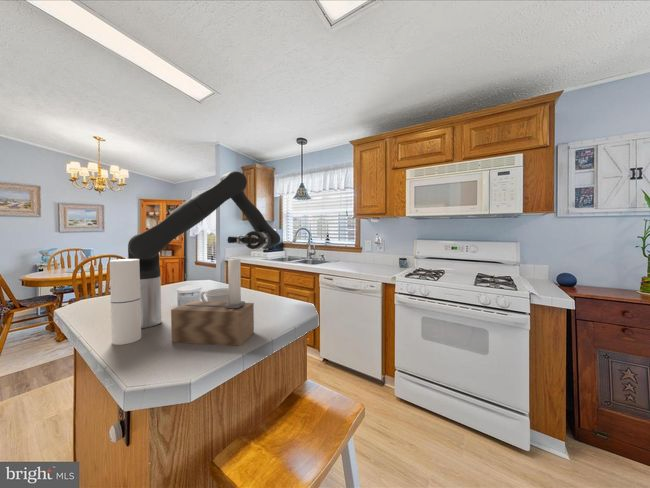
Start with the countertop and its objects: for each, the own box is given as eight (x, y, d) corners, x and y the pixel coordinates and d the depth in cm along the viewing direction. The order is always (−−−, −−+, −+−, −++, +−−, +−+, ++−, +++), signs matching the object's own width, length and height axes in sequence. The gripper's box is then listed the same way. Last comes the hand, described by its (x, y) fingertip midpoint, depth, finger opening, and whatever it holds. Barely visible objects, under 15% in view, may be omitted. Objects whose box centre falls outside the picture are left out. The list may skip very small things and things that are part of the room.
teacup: (210, 310, 108) (209, 287, 107) (242, 311, 106) (242, 288, 105) (191, 319, 96) (191, 294, 95) (227, 321, 94) (227, 295, 93)
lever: (224, 307, 76) (223, 259, 76) (232, 303, 81) (231, 258, 81) (237, 308, 76) (237, 260, 75) (244, 303, 81) (244, 258, 80)
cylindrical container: (117, 346, 73) (115, 261, 72) (108, 341, 76) (105, 260, 75) (145, 338, 79) (143, 259, 78) (135, 333, 82) (133, 258, 82)
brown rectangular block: (171, 342, 76) (171, 309, 76) (192, 329, 86) (191, 300, 86) (240, 345, 74) (240, 311, 73) (253, 332, 84) (253, 302, 83)
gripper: (241, 231, 108) (221, 229, 92) (272, 231, 107) (258, 230, 90) (240, 248, 108) (221, 249, 92) (272, 249, 107) (258, 250, 91)
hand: (239, 240), depth 91 cm, fingers open, 8 cm apart
